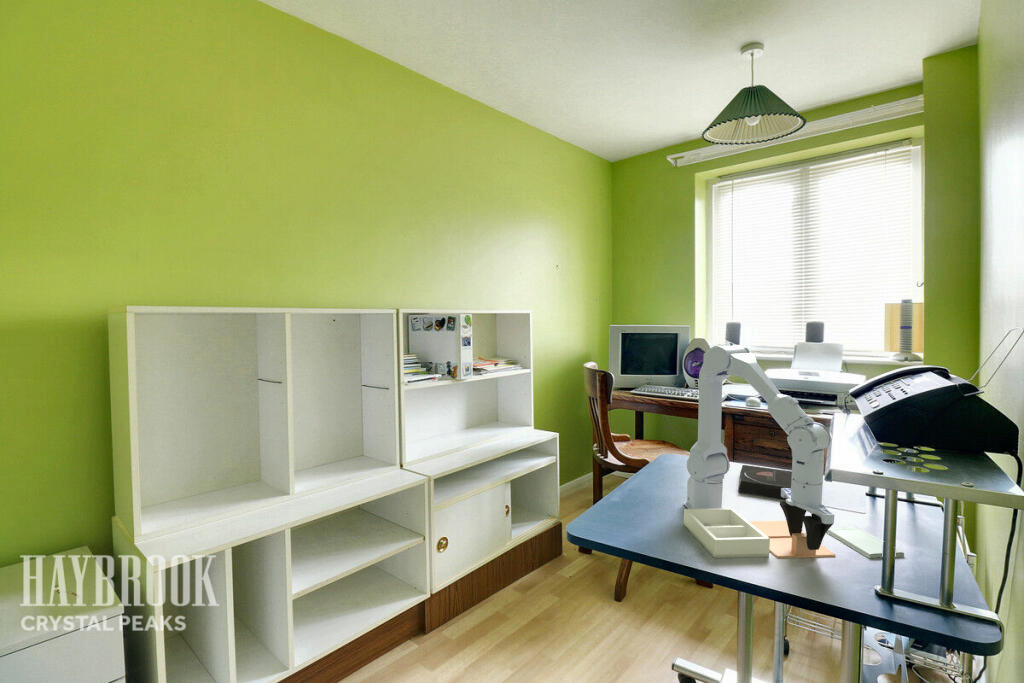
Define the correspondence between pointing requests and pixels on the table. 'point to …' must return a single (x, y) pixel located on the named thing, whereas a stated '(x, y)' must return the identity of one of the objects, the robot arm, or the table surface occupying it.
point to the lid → (788, 541)
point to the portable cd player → (764, 481)
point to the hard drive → (860, 541)
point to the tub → (726, 533)
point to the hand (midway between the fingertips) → (803, 542)
